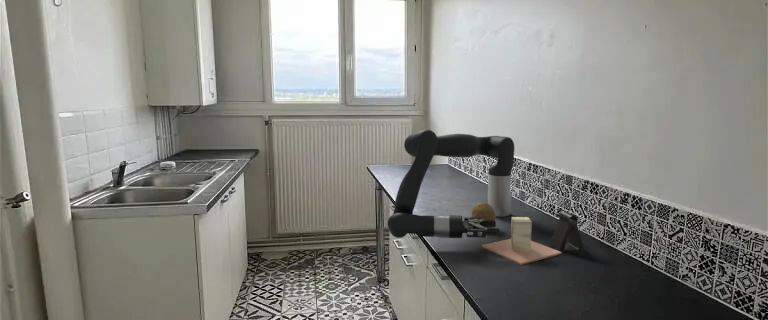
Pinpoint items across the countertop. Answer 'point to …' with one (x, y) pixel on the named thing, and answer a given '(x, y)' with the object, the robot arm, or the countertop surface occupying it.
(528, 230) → the maple block
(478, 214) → the natural sponge
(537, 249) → the terracotta tile
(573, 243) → the phone stand
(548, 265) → the countertop surface
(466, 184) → the countertop surface
